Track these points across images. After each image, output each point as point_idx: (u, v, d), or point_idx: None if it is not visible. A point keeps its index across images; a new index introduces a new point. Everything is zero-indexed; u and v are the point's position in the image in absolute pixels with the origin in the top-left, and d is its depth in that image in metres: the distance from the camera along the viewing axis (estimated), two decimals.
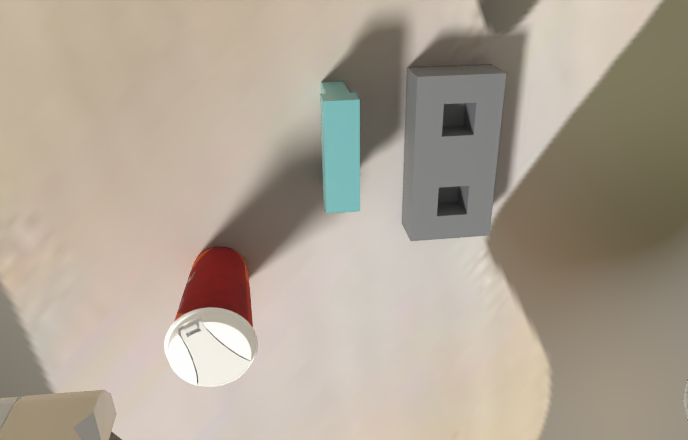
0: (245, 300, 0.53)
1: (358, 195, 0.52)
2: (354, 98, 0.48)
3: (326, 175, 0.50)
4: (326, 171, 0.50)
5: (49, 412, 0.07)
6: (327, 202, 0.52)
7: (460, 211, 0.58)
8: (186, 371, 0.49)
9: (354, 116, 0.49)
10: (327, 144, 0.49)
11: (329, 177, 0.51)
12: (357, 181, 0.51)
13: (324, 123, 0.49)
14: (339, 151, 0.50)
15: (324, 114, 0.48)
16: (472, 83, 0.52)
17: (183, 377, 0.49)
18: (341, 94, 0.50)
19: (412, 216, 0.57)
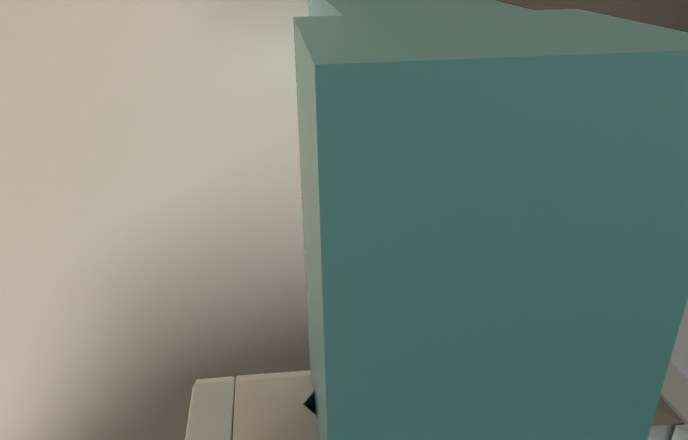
0: None
1: None
2: (664, 38, 0.04)
3: None
4: None
5: (272, 390, 0.07)
6: None
7: None
8: None
9: (657, 231, 0.05)
10: None
11: None
12: None
13: (330, 309, 0.05)
14: None
15: (331, 223, 0.04)
16: None
17: None
18: (480, 17, 0.06)
19: None
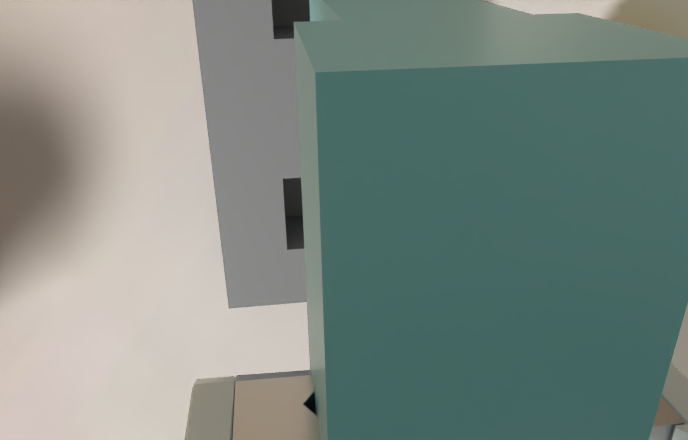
0: None
1: None
2: (663, 44, 0.04)
3: None
4: None
5: (272, 390, 0.07)
6: None
7: None
8: None
9: (657, 236, 0.05)
10: None
11: None
12: None
13: (331, 315, 0.05)
14: None
15: (331, 229, 0.04)
16: None
17: None
18: (480, 22, 0.06)
19: (224, 250, 0.23)
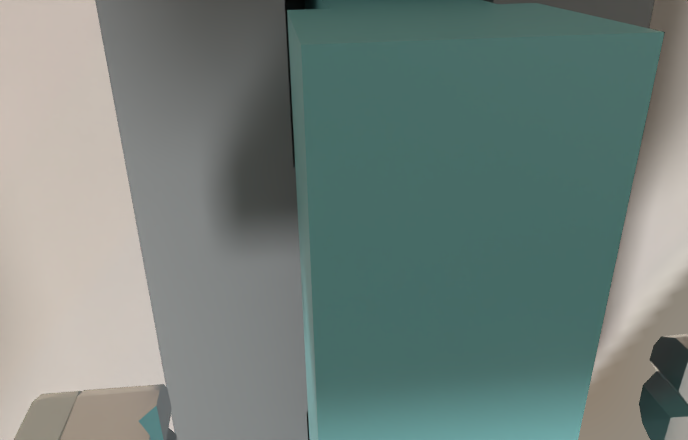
0: None
1: None
2: (593, 25, 0.05)
3: None
4: None
5: (112, 406, 0.07)
6: None
7: None
8: None
9: (589, 187, 0.05)
10: (344, 406, 0.06)
11: None
12: None
13: (316, 252, 0.05)
14: None
15: (316, 176, 0.05)
16: None
17: None
18: (448, 9, 0.06)
19: None
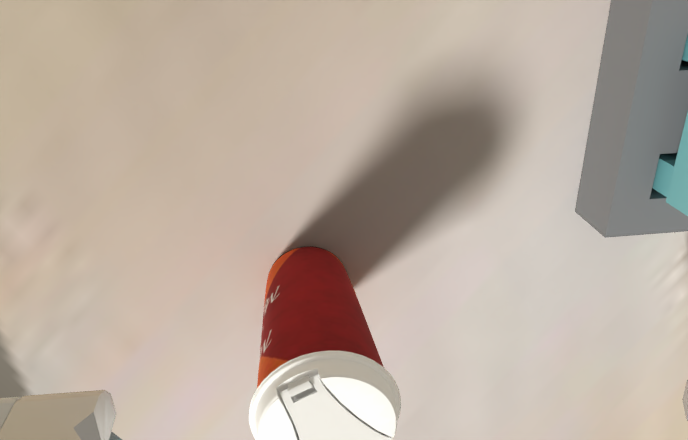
0: (368, 332, 0.33)
1: None
2: None
3: None
4: None
5: (49, 412, 0.07)
6: None
7: None
8: None
9: None
10: None
11: None
12: None
13: None
14: None
15: None
16: None
17: None
18: None
19: (613, 199, 0.37)
